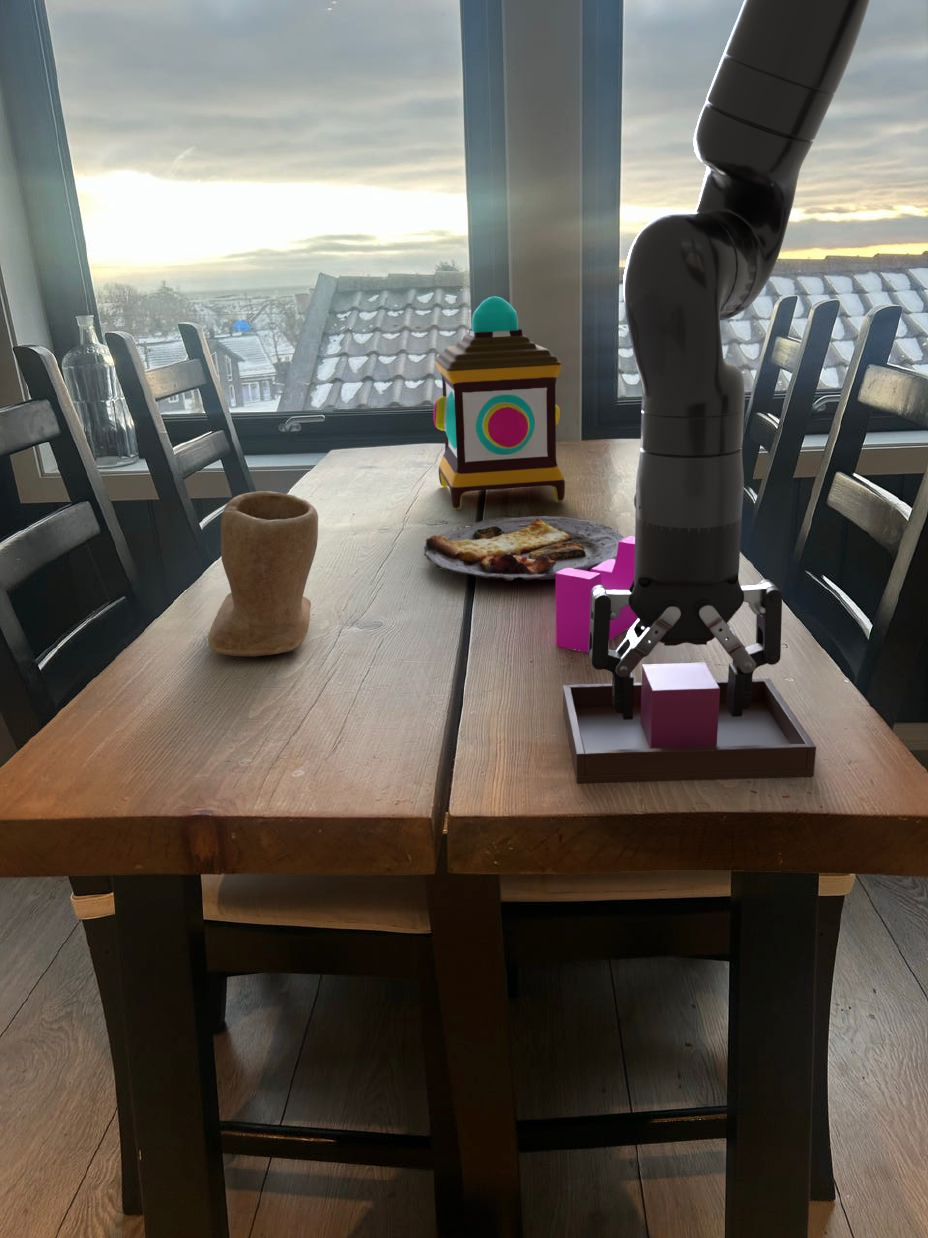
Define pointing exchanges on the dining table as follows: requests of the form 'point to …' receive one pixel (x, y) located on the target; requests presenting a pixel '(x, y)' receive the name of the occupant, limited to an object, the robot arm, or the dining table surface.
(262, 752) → the dining table surface
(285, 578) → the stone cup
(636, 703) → the tray
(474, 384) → the decorative lantern
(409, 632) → the dining table surface
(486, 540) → the food plate
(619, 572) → the toy block
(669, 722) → the cube
